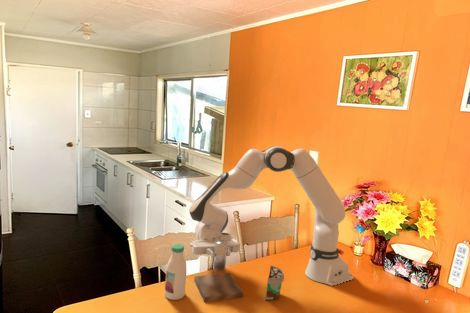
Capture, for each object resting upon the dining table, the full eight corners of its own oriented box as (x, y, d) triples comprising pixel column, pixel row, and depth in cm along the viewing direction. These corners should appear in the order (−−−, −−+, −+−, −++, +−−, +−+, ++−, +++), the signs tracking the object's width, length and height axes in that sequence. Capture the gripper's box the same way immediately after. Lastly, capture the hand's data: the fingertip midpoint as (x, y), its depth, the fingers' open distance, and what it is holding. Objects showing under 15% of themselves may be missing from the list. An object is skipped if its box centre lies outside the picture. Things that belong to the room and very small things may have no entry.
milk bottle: (182, 288, 135) (186, 241, 132) (186, 299, 127) (189, 249, 125) (163, 290, 132) (166, 242, 129) (165, 301, 125) (169, 250, 122)
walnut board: (229, 277, 147) (229, 272, 147) (243, 296, 133) (243, 292, 132) (194, 280, 142) (194, 276, 141) (204, 301, 127) (204, 297, 127)
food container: (281, 305, 129) (283, 281, 127) (265, 302, 130) (267, 278, 129) (282, 289, 141) (285, 267, 139) (268, 287, 142) (270, 264, 141)
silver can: (223, 264, 139) (225, 239, 138) (226, 270, 134) (229, 244, 133) (211, 265, 137) (213, 239, 136) (215, 271, 133) (217, 244, 131)
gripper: (188, 235, 143) (196, 248, 130) (233, 233, 150) (245, 245, 137) (187, 249, 144) (195, 264, 131) (232, 246, 151) (243, 260, 138)
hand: (221, 254), depth 134 cm, fingers closed on silver can, 5 cm apart
